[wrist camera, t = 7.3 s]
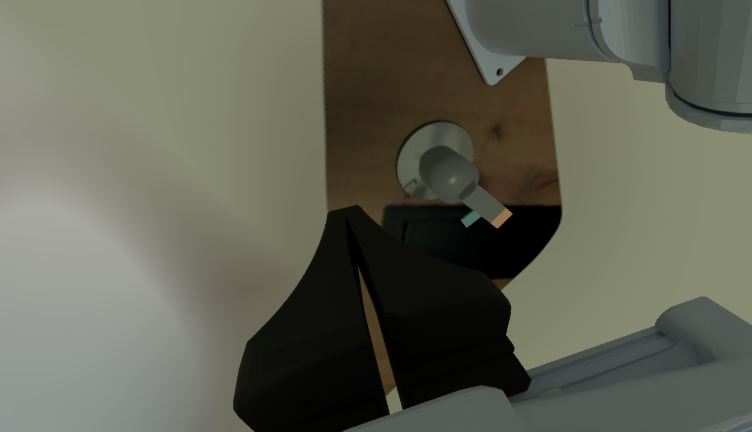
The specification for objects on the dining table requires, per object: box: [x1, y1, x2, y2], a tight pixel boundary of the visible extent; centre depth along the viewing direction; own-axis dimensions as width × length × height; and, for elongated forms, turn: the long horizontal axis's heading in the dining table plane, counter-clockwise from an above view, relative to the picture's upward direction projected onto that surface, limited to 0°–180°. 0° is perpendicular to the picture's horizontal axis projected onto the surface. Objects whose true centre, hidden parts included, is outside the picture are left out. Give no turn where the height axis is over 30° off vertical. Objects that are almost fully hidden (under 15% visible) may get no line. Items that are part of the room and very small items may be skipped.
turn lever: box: [419, 146, 512, 228], centre depth 21 cm, size 8×3×3 cm, turn 51°
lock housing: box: [396, 121, 481, 227], centre depth 23 cm, size 6×11×1 cm, turn 39°
